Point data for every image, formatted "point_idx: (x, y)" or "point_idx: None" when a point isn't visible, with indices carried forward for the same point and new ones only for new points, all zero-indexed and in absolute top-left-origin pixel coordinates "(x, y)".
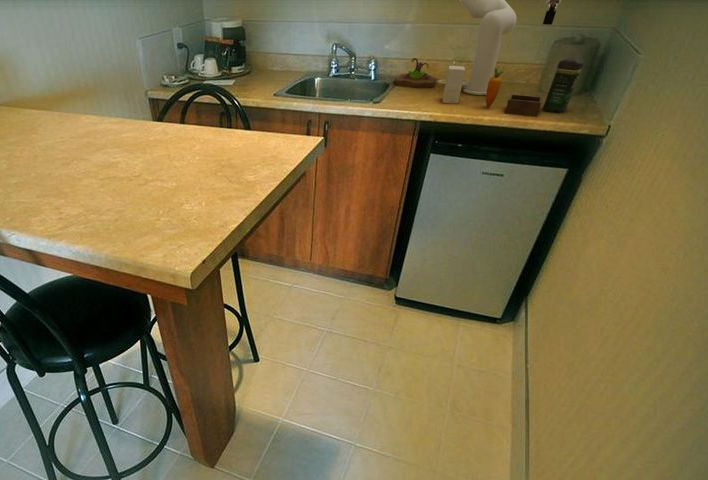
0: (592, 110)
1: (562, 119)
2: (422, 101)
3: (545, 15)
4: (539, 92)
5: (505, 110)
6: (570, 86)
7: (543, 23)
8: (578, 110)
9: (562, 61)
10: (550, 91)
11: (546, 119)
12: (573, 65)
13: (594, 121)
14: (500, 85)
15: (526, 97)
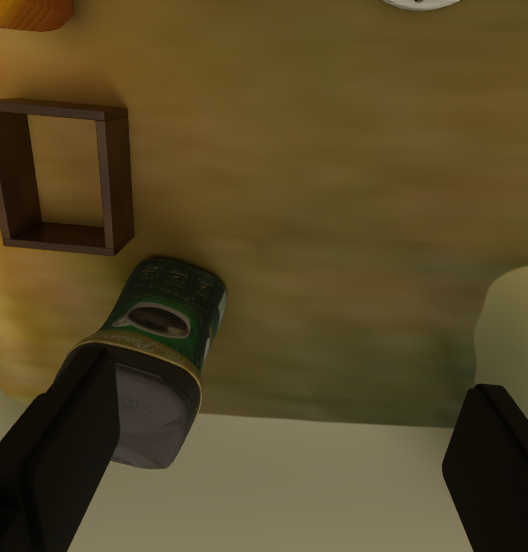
0: (228, 405)
1: (50, 308)
2: None
3: (21, 424)
4: (496, 261)
5: (9, 98)
6: None
7: (82, 353)
8: (208, 368)
9: (57, 377)
10: (126, 291)
11: (16, 259)
12: None
13: None
14: (12, 28)
15: (104, 189)
